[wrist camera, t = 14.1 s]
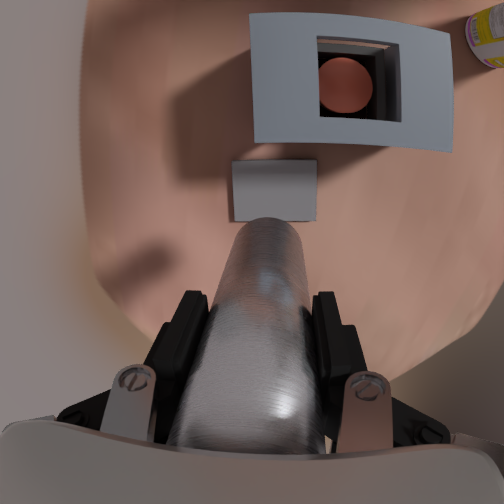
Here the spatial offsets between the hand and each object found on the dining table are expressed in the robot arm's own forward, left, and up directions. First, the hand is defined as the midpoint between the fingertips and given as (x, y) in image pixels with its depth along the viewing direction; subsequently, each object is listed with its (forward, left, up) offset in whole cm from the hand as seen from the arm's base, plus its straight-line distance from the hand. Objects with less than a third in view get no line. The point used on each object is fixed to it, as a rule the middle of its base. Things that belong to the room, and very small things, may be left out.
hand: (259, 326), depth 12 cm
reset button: (-6, -10, -20) cm, 23 cm away
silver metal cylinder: (0, 0, -7) cm, 7 cm away
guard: (-6, -10, -21) cm, 24 cm away
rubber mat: (0, 0, -21) cm, 21 cm away
